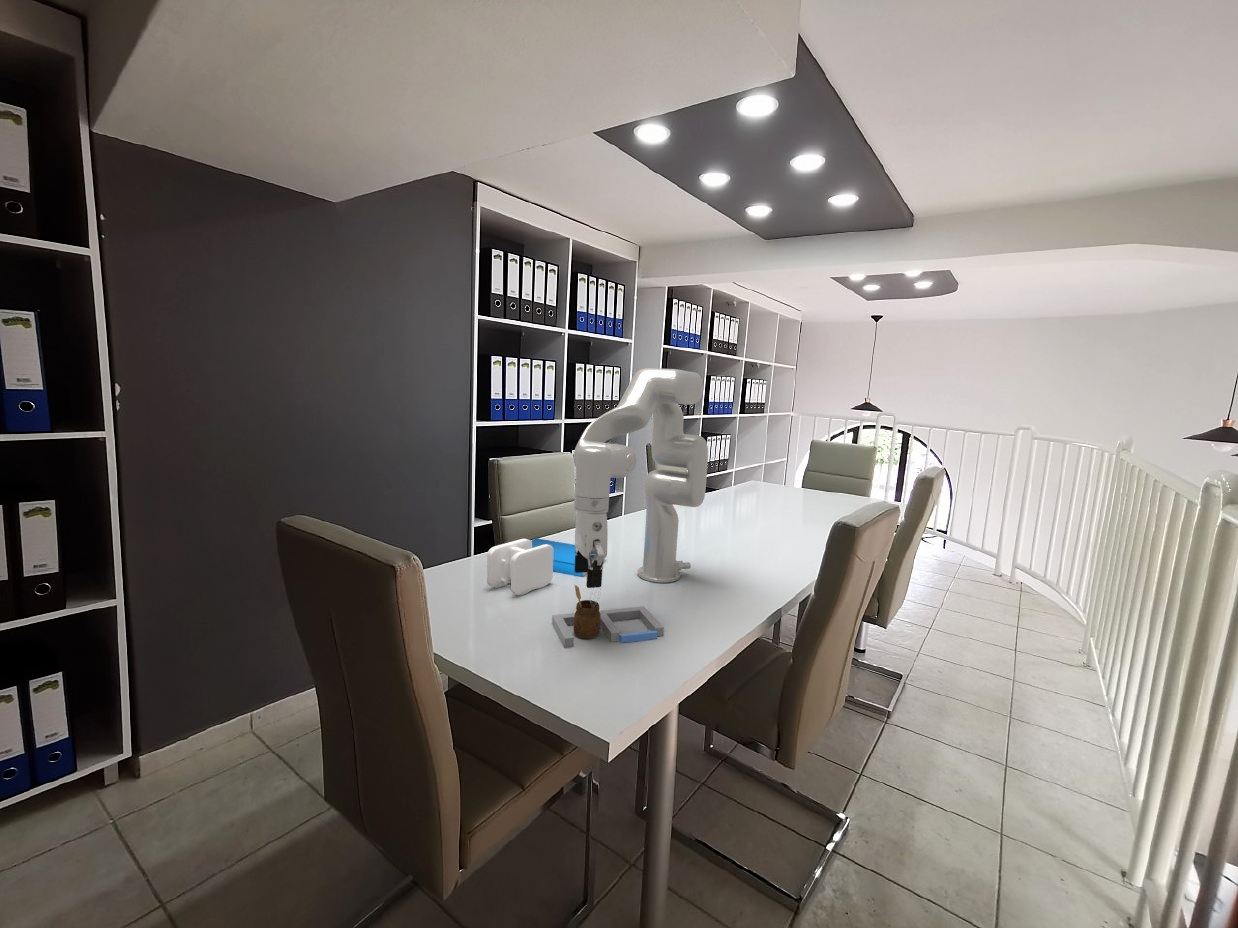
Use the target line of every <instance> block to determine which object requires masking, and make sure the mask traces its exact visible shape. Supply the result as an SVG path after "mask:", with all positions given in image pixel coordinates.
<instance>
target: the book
mask: <svg viewBox="0 0 1238 928" xmlns="http://www.w3.org/2000/svg"><path fill="white" fill-rule="evenodd" d="M530 541H531V542H532V548H534V547H538V546H541V545H544V544H547V545H551V546H552V547H553V549H554V552H553V572H556V573H561V574H565V575H566V574H567V575H571V576H577V577H582V578H584V577H585V576H587V572H582V573H576V572H575V571H574V569H575V555H576V554H575V550H576V546H575V544H572V543H566V542H561V541H555V540H549V539H543V538H534V539H532V540H530ZM590 555H596V554H590ZM605 559H606V558H604V559H603V562H605V561H606V560H605ZM594 560H596V559H593V560H592V564H593V562H594Z"/></svg>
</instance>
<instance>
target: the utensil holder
mask: <svg viewBox="0 0 1238 928" xmlns="http://www.w3.org/2000/svg"><path fill="white" fill-rule="evenodd" d="M594 589H595V588H591V591H590V592H589V594H594V595H593V596H594V598H592V596H589V599H585V600H581V599H582V596H581V591H580V587H579V586H578V585H576V584H574V590H575V595H576V596H575V597H576V599H578V602H577V603H576V606H575V612H574V613H575V615H574V625H573V635H575V636H576V637H577V638H579V639H582V640H592V639H595V638H597V637H598V636H599V635H600V633H601V627H600V619H601V616H600V612H599V611H600V604H599V601H600V598H601V597H597V596H601V593H600V592H597V589H595V590H594ZM598 589H601V587H598ZM593 592H597V593H598V595H596V593H593ZM596 597H597V599H595V598H596Z"/></svg>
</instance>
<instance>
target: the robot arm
mask: <svg viewBox="0 0 1238 928" xmlns="http://www.w3.org/2000/svg"><path fill="white" fill-rule="evenodd" d="M703 392H704V382H703V379H702V377H701V376H700V374H698V372H694V371H689V370H683V369H675V368H660V367H659V368H658V367H657V368H654V367H645V368H641V369H639V370H637V371H636V372H635V373H634V374H633V377H632V378H631V380H630V381H629V384H628V386H627V387H626V390H625V391H624V393H623V395H622V397H621V399H620V401H619V403H618V404H617V406H616V407H613V408H612V409H611V410H609V411H607V412H605V413H603V414H602V415H600V416H599V417H597V418H596V419H594V420H592V422H591V423H590V424H588V426H586V428H585V429H584V431H583V432H582V434H581V436H580V438H579V439H578V442H577V444H576V446H575V448H574V452H573V458H572V459H573V464H574V467H575V477H574V478H575V480H574V497H573V498H574V501H573V503H574V504H573V510H574V511H575V512H576V517H575V518H576V520H575V531H574V545H575V546H576V550H575V554H576V555H575V569H574V571H575V572H576V573H582V572H587V574H586V585H585V586H586V588H588V589H593V588H594V589H599V587H600V588H601V587H602V585H603V584H602V581H603V570H604V562H605V561H604V562H603V559H604V558H605V559H606V558H607V557H608V531H609V530H608V515H607V513H608V512H609V508H610V507H609V506H610V494H611V492H610V491H611V478H613V479H623V478H626V477H629V476H630V475H631V474H632V473H633V471H635V468H636V464H637V456H636V454H635V452H634V450H633V449H632V448H631V447H629V446H628V445H625V444H620V443H619V444H618V443H611V442H607V441H609V440H611V439H613V438H616V437H619V436H623V435H624V436H625V435H627V434H628V435H629V434H631V433H632V434H633V433H635V432H638V431H640V430H643V429H644V428H645V427H646V426H647V425H648V423H649V422H650V420H651V418H652V419H653V424H652V426H653V427H652V440H651V441H652V442H651V457H652V460H653V461H654V463H656V464H658V465H661V466H667V467H674V468H682V469H686V471H687V472H684V471H678V470H671V469H670V470H669V469H655V470H652V471H649V472H648V473H647V475H646V477H645V479H644V494H645V505H646V506H645V527H644V528H645V529H644V530H645V531H644V547H643V548H644V549H643V559H642V566H640V567H639V568H638V569H637V576H638V577H639V578H640V579H643V580H644V581H648V582H652V583H659V584H660V583H673V582H676V581H679V579H680V578H681V572H680V571H682V570H690V569H691V565H692V564H691V562H689V561H688V562H687V561H686V562H683V560H677V550H678V548H677V547H678V533H679V522H680V521H679V516H678V513H677V511H676V508H675V506H681V507H686V508H697V507H700V506H701V505H702V504H703V502H704V500H705V497H706V492H707V491H706V487H707V477H708V475H707V474H708V462H709V460H708V459H709V447H708V446H709V445H708V443H707V441H706V439H705V438H704V437H702V436H701V435H697V434H688V433H687V434H686V433H684V413H683V410H682V408H681V407H680V406H679V405H695V404H697V403H698V402H699V401H700V400H701V398H702V396H703ZM652 416H653V417H652ZM590 554H596V555H590ZM593 559H596V560H594V562H593V564H592V560H593Z"/></svg>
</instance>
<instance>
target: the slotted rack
mask: <svg viewBox="0 0 1238 928" xmlns="http://www.w3.org/2000/svg"><path fill="white" fill-rule="evenodd" d="M599 612H600V616H601V619H600V629H601V630H602V631H603V632H604V633H605V635H606V637H607V638H608V639H609V641H610V642H620V644H624V643H630V642H631V643H632V642H641V641H647V640H648V641H650V640H657V639H658V637H664V631H665V630H664V626H663V625H662V624H661V623H660V622H659V620H657V618H656V617H655V616H654V615H653V614H652V613H651V612H650V611H649V610H648V609H647V608H646V607H645V606H644V605H642V606H641V605H640V606H632V607H622V608H621V607H620V608H611V609H601V610H600V609H599ZM574 615H575V612H570V613H560V614H553V615H552V617H551V624H552V626H553V627H554V630H555V631H556V634H557V636H558V638H559V640H560V642H561V643H562V646H563V647H564V648H570V647H571V648H572V647H575V646H574V645H575V644H574V643H575V637H574V634H572V632H571V629H570V628H569V626H574ZM632 619H634V620H635V619H639V620H640V621H641V622H642V623H643V625H644V626H645V625H646V626H647V627H646V626H645V627H646V628H647V629H648V630H647V631H639V632H630V633H622V634H621V631H620V630H619V629H618V628H617V626H616V625H615V624H614V622H615V621H622V620H632Z"/></svg>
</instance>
